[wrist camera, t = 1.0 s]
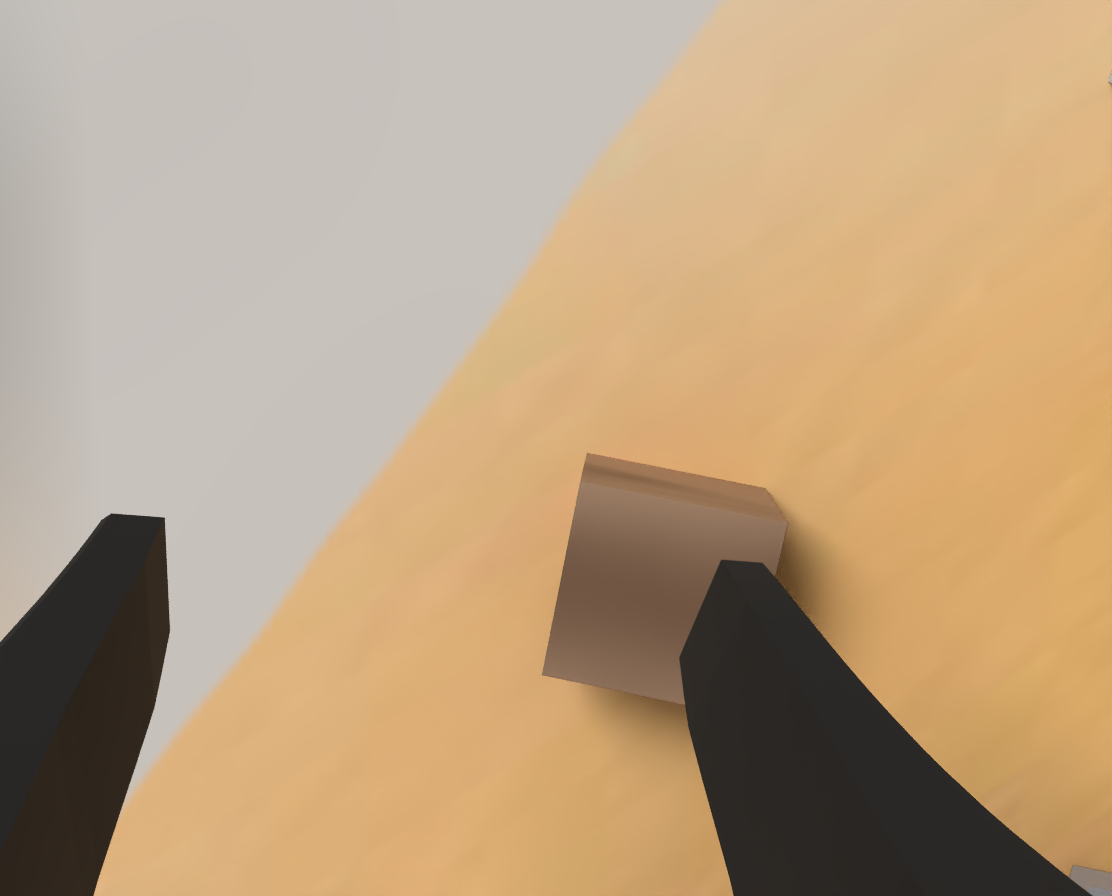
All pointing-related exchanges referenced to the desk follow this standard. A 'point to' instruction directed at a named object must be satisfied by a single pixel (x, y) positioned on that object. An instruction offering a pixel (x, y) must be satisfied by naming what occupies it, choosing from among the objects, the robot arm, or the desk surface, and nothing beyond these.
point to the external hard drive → (1110, 78)
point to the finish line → (1092, 880)
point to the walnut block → (648, 570)
